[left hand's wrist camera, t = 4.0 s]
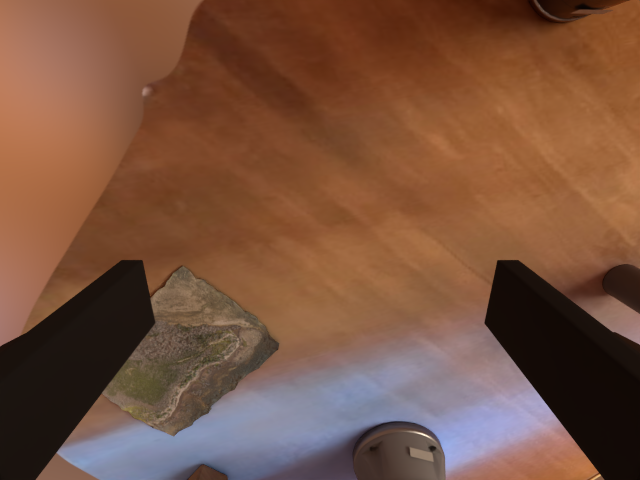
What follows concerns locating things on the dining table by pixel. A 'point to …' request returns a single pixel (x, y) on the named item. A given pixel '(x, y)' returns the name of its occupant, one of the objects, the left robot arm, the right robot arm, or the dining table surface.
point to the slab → (189, 355)
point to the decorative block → (207, 474)
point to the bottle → (624, 285)
